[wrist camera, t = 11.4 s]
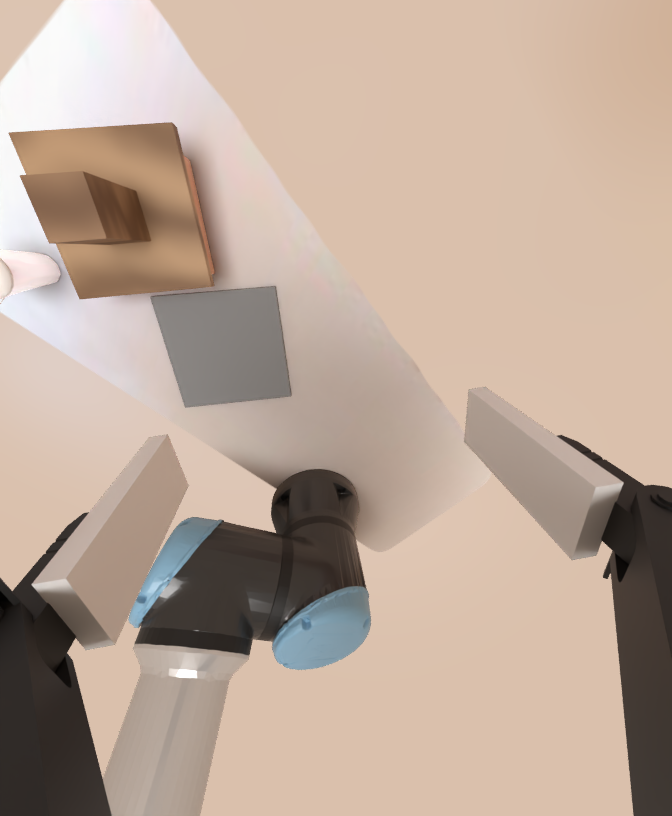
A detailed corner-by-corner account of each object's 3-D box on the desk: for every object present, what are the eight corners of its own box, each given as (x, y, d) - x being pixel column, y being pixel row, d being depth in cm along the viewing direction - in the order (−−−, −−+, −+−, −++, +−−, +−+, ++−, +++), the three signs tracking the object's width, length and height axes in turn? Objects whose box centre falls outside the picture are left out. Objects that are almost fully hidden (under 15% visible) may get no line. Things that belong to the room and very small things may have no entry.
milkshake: (57, 303, 38) (-16, 320, 29) (12, 264, 36) (-83, 268, 27) (82, 279, 37) (14, 289, 28) (38, 237, 35) (-51, 233, 26)
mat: (290, 394, 47) (290, 396, 46) (186, 405, 46) (185, 407, 45) (275, 286, 40) (275, 286, 39) (152, 296, 39) (150, 296, 38)
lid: (214, 285, 34) (187, 297, 25) (86, 297, 33) (16, 313, 25) (176, 127, 28) (126, 75, 19) (20, 137, 27) (-102, 88, 19)
